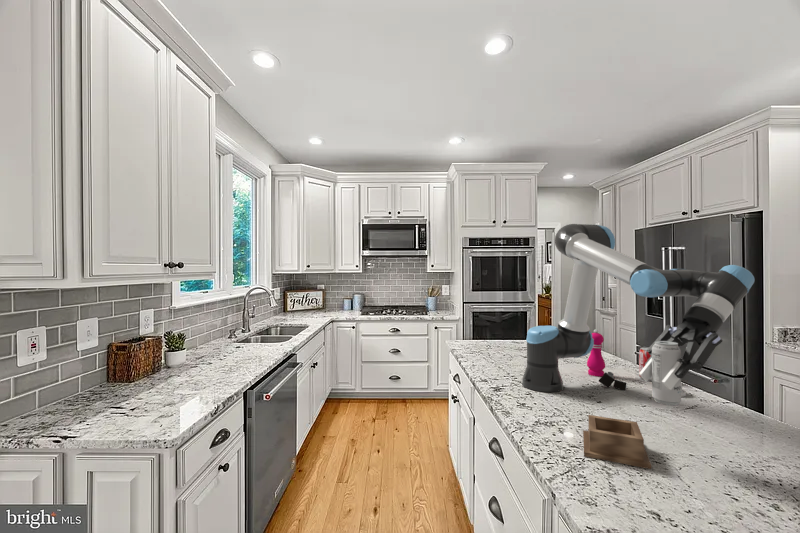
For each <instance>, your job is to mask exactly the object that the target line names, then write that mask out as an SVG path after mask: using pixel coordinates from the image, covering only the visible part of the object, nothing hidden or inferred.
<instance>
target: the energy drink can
mask: <svg viewBox="0 0 800 533" xmlns="http://www.w3.org/2000/svg"><path fill="white" fill-rule="evenodd" d="M654 341H655V340H654ZM680 359H682V350H681V348H680V346H679V347H678V343H675V342H670V341H655V344H654V346H653V347H652V381H651V396H652V398H653V399H654V401H655V402H656V403H658V404H661V405H665V406H678V405H679V404H680V403H681V402H682V397H681V384H682V379H679V380H678V382H677V383H676V384H675V385H674V387H673V388H672V389H671V390H670V389H668V388H667V387H666V386H665V385H664V384H663V382H662V380H663V379H664V378H665V377H666V375H667V374H668V373H669V372H670V370H671V369H672V368H673V366H674V365H675V364H676V363H677V362H680V363H681V364H682V362H681V361H682V360H681V361H680Z"/></svg>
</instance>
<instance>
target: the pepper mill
mask: <svg viewBox="0 0 800 533" xmlns="http://www.w3.org/2000/svg"><path fill="white" fill-rule="evenodd" d="M591 334H592V338H593V339H594V345H593V348H592V350H591V352H590V353H589V356H588V358H587V361H586V366H587V367H588V369H587V374H588V375H589V376H592V377H600V378H601V377H602V376H603V375H604V373H605V371H604V370H605V368H606V361H605V360H604V358H603V354H602V348H603V343H604V340H605V338H604V335H602V334H601V333H599V330H598V329H594V330H593V332H591Z"/></svg>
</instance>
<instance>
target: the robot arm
mask: <svg viewBox="0 0 800 533" xmlns="http://www.w3.org/2000/svg"><path fill="white" fill-rule="evenodd" d="M554 245H555V247H556V249H557V250H558V252H559V253H561V254H562V255H564V256H565V257H568V258H570V259H572V260H573V267H572V272H571V278H570V281H569V282H570V283H569V288H568V292H567V294H568V295H567V298H566V304H565V309H564V314H563V318H562V319H561V320H559V321H558V323H557V326H555V325H536V326H533V327H530V328H528V330H527V333H526V334H527V335H526V339H525V341H526V367H525V370H524V372H523V376H522V378H521V384H522V386H523V387H524V388H526V389H529V390H531V391H536V392H544V393H555V392H556V393H557V392H560V391H562V390H564V381H563V378H562V375H561V373H560V369H559V359H561V360H562V359H572V358H575V359H577V358H581V357H586V356H588V355H590V353H591V350H592V348H593V345H594V339H593V338H592V334H591V333H592V332H591V331H590V330H591V328H590V326H589V325H588V324H587V323H588V320H589V314H590V309H591V303H592V299H593V294H594V290H595V285H596V280H597V276H598V270H600V271H601V272H603V273H606V274H607V275H609V276H611V277H614V279H616V280H619V281H621V282H623V283H625V284H627V285H628V286H630V288H631V290H633V292H634V294H635V295H637V296H639V297H643V298H644V297H645V298H661V297H663V298H664V297H665V298H666V297H692V298H696V300H695V301H694V302H693V304H692V305H691V307H690V308H689V309H688V310H687V311H686V313H685V314H683V317H682V322H681V323H680V324H678V325H677V326H671V325H670V324H667V325H665V327H664V330H663V331H662V332H661V334H660V335H659V336H658V337H657V338H656V339H655V340H654V342H652V344H650V345H649V348H648V349H647V352H648V353H649V354H650V355H651V357H650V358H649V359H648V361H647V362H646V363H645V366H644V368H643V369H642V370H641V371H640V373H639V372H638V376H639V375H640V376H641V377H642V378H643V379H644V380H643V379H642V380H643V381H645V382H649V381H648V380H649V379H650V378H651V376H652V347H653V346H654V344H655V341H670V342H675V343H678V347H679V348H680V347H682V346H684V345H686V344H687V345H686V347H685V351H684V353H683V356H682V358H681V359H680V361H681V363H680V362H677V363H676V364H675V365H674V366H673V368H672V369H671V370H670V372H669V373H668V374H667V375H666V377H665V378H664V379H663V380H662V382H663V384H664V385H665V386H666V387H667V388H668V389H670V390H671V389H672V388H673V387H674V385H675V384H676V383H677V382H678V380H679V379H681V380H682V379H684V377H685V376H686V374H688V372H689V371H690V370H691V371H692V370H693V369H696V370H698V371H700V370H702V368H703V367H704V365H705V364H706V362H707V361H708V359H709V358H710V356H711V355H712V353H713V352H714V351H715V349H716V348H717V347H718V346H719V345H720V344H722V343H723V339H722V338H721V336H719V334H718V333H717V332H719V330H720V329H721V327H722V326H723V323H725V322H726V320H727V319H728V317H729V316H730V315H731V314H732V312H733V311H734V310H735V309H736V307H737V306H738V304H740V302H741V301H742V300H743V299H744V298H745V297H746V295H747V294H749V292H750V290H751V288H752V286H753V285H754V284H755V276H754V275H753V272H751V271H750V270H749V269H746V268H745V267H743V266H740V265H737V264H729V265H725V266H723V267H722V268H721V269H719V271H718V272H715V271H714V272H713V271H699V270H694V269H693V270H692V269H686V268H671V269H660V268H657V267H654V266H652V265H649V264H648V263H645V262H643V261H642V260H641V261H640V260H638V259H636V258H634V257H632V256H630V255H627V254H624V253H622V252H620V251H618V250H616V249H615V246H616V238H615V235H614V233H613V232H612V230H611V229H610V228H609V227H607V226H604V225H599V224H588V223H586V224H580V223H570V224H566V225H563V226H562V227H560V228H559V230H557V231H556V234H555V237H554Z"/></svg>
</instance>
